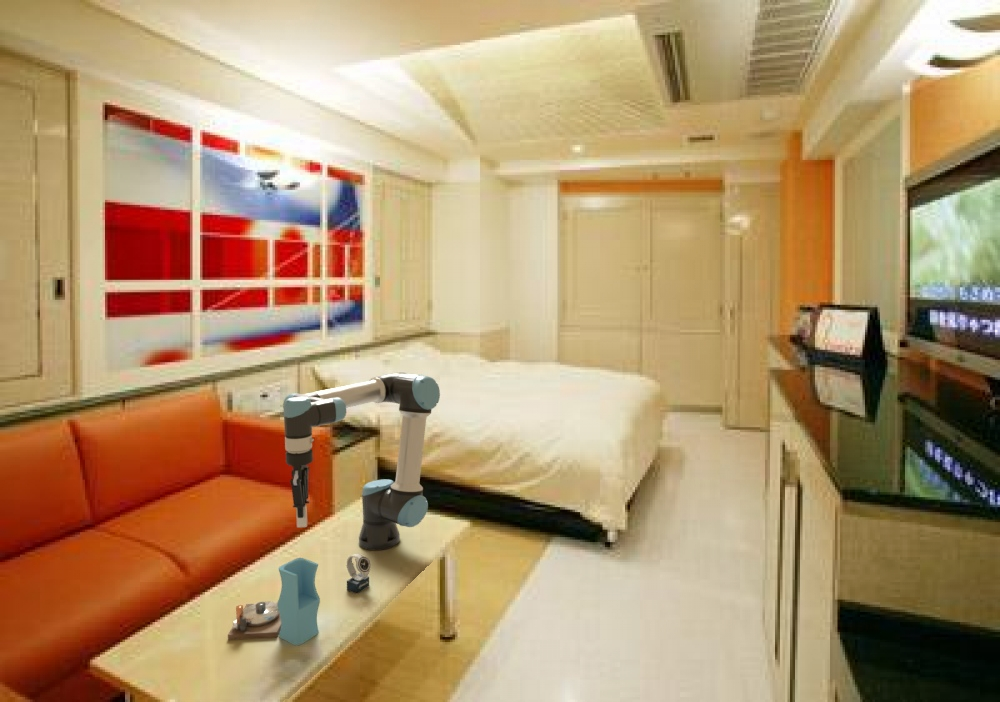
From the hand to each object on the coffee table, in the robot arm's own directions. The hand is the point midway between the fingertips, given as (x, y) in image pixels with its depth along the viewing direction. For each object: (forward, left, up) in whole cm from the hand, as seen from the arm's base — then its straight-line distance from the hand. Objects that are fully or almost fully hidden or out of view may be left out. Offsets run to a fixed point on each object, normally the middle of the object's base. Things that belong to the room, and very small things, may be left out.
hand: (302, 526), depth 170 cm
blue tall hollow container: (+16, +2, -25) cm, 30 cm away
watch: (-7, +15, -25) cm, 30 cm away
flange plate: (+10, -11, -22) cm, 27 cm away
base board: (+10, -10, -24) cm, 28 cm away
